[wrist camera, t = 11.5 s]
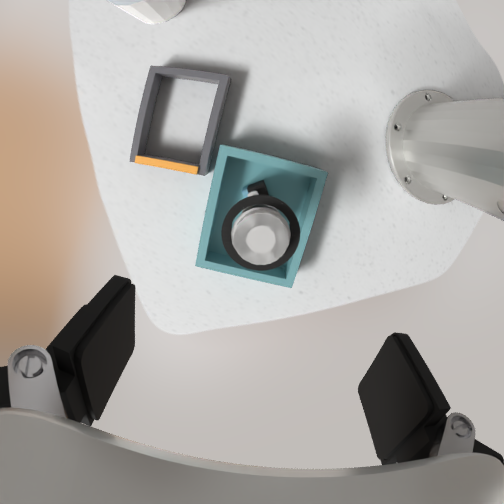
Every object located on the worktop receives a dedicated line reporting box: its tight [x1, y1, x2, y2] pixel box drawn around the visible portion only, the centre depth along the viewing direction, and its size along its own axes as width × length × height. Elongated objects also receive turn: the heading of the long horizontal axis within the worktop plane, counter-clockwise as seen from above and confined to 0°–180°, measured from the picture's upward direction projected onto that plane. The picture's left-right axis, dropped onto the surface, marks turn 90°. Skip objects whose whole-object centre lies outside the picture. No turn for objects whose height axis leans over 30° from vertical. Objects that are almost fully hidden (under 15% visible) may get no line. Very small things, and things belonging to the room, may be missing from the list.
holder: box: [130, 66, 231, 176], centre depth 24 cm, size 8×10×2 cm
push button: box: [221, 180, 300, 271], centre depth 24 cm, size 7×5×10 cm
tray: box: [195, 145, 328, 288], centre depth 27 cm, size 10×12×3 cm
